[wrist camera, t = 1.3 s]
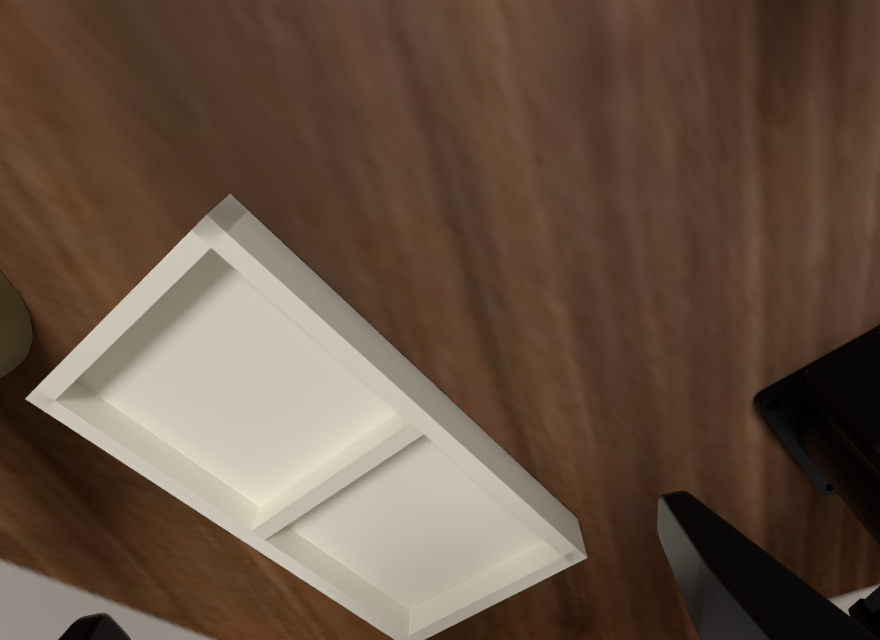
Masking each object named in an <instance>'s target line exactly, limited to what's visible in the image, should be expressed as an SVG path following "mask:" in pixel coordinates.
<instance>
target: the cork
mask: <svg viewBox="0 0 880 640" xmlns="http://www.w3.org/2000/svg"><path fill="white" fill-rule="evenodd" d="M32 341H33V335H32V326H31V317H30V315H29V313H28V311H27V309H26V307H25V304H24V302H23V300H22V298H21V296H20V294H19V293H18V291H17V290H16V289H15V288H14V287H13V285H12V284H11V283H10V282H9V281H8V279H7V278H6V277H5V276H4V275H3V274H2V272H1V271H0V378H2V377H3V376H5V375H6V374H8V373H10V372H11V371H13V370H14V369H15V368H16V367H17V366H18V365H19V364H20V363H21V362H22V361H24V360H25V359H26V358H27V355H28V352H29V349H30V346H31V344H32Z"/></svg>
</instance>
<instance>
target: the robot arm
mask: <svg viewBox="0 0 880 640" xmlns="http://www.w3.org/2000/svg"><path fill="white" fill-rule="evenodd" d="M772 400H774V401H773V402H771V403H769V402H770V401H772ZM755 404H756V406H757V407H758V409H759V410H760V411H761V413H762V414H763V415H764V417H765V418H766V419H767V421H768V422H769V424H770V425H771V426H772V428H773V429H774V430H775V432H776V433H777V434H778V436H779V437H780V438H781V440H782V441H783V443H784V444H785V445H786V447H787V448H788V449H789V451H790V452H791V453H792V455H793V456H794V457H795V459H796V460H797V462H798V463H799V464H800V466H801V467H802V468H803V470H804V471H805V472H806V474H807V475H808V476H809V478H810V479H811V481H812V482H813V483H814V485H815V486H816V487H817V489H818V490H819V491H820V492H821V493H822V494H824V495H833V494H836V493H837V494H838V495H839V496H840V497H841V499H842V500H843V501H844V502H845V504H846V505H847V506H848V507H849V509H850V510H851V511H852V512H853V514H854V515H855V516H856V518H857V519H858V520H859V521H860V523H861V524H862V525H863V526H864V528H865V529H866V530H867V531H868V533H869V534H870V535H871V536H872V538H873V539H874V540H875V541H876V543H877V544H878V545H879V546H880V326H878V327H876V328H874V329H873V330H871V331H869V332H867V333H865V334H864V335H862V336H860V337H858V338H856V339H855V340H853V341H851V342H849V343H847V344H845V345H844V346H842V347H840V348H838V349H836V350H835V351H833V352H831V353H829V354H827V355H826V356H824V357H822V358H820V359H818V360H816V361H815V362H813V363H811V364H809V365H807V366H806V367H804V368H802V369H800V370H798V371H797V372H795V373H793V374H791V375H789V376H787V377H786V378H784V379H782V380H780V381H778V382H777V383H775V384H773V385H771V386H769V387H768V388H766V389H764V390H762V391H761V392H760V393H758V395H757V396H756V397H755ZM657 527H658V534H659V538H660V541H661V544H662V546H663V549H664V551H665V554H666V556H667V559H668V561H669V564H670V566H671V569H672V571H673V574H674V576H675V579H676V581H677V584H678V586H679V589H680V591H681V594H682V596H683V599H684V601H685V604H686V606H687V609H688V611H689V614H690V616H691V619H692V622H693V624H694V626H695V629H696V631H697V634H698V636H699V638H700V640H880V586H879V587H878V588H877V589H876V590H875V591H874V592H872V593H871V594H870V595H869V596H868V597H867V598H866V599H859V600H858V601H857V602H856V603H855V604H853V605H852V606H851V607H850V608H849V609H848V610H849V614H850V616H848V615H847V614H846V613H845V612H843V611H842V610H841V609H839V608H838V607H837V606H836V605H834V604H833V603H832V602H830V601H829V600H828V599H826V598H825V597H824V596H823V595H821V594H820V593H819V592H817V591H816V590H815V589H813V588H812V587H811V586H810V585H808V584H807V583H806V582H804V581H803V580H802V579H800V578H799V577H798V576H797V575H795V574H794V573H793V572H791V571H790V570H789V569H787V568H786V567H785V566H784V565H782V564H781V563H780V562H778V561H777V560H776V559H774V558H773V557H772V556H771V555H769V554H768V553H767V552H765V551H764V550H763V549H761V548H760V547H759V546H758V545H756V544H755V543H754V542H752V541H751V540H750V539H749V538H747V537H746V536H745V535H743V534H742V533H741V532H739V531H738V530H737V529H736V528H734V527H733V526H732V525H730V524H729V523H728V522H726V521H725V520H724V519H723V518H721V517H720V516H719V515H717V514H716V513H715V512H713V511H712V510H711V509H710V508H708V507H707V506H706V505H704V504H703V503H702V502H700V501H699V500H698V499H697V498H695V497H694V496H693V495H691V494H690V493H688V492H686V491H677V492H672V493H668V494H663V495H661V496H660V498H659V503H658V525H657ZM58 640H131V639H130V637H129V636H128V634H127V633H126V632H125V631H124V630H123V629H122V628H121V627H120V626H119V625H118V624H117V622H116V621H114V619H113V618H112V617H111V616H110V615H109V614H106V613H98V614H94V615H89V616H84V617H82V618H79V619H78V620H76V621H75V622H74V623H73V624H72V625H71V626H70V627H69V628H68V629H67V630H66V631H65V633H64V634H63V635H62V636H61V637H60V638H59V639H58Z"/></svg>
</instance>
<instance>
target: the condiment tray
mask: <svg viewBox="0 0 880 640" xmlns="http://www.w3.org/2000/svg"><path fill="white" fill-rule="evenodd" d="M25 399H26V400H28V401H29V402H31V403H32V404H34V405H35V406H37V407H38V408H40V409H41V410H43V411H44V412H46V413H48V414H49V415H51V416H52V417H54V418H55V419H57V420H58V421H60V422H61V423H63V424H64V425H66V426H67V427H69V428H71V429H72V430H74V431H75V432H77V433H78V434H80V435H81V436H83V437H84V438H86V439H87V440H89V441H90V442H92V443H94V444H95V445H97V446H98V447H100V448H101V449H103V450H104V451H106V452H107V453H109V454H110V455H112V456H114V457H115V458H117V459H118V460H120V461H121V462H123V463H124V464H126V465H127V466H129V467H130V468H132V469H133V470H135V471H137V472H138V473H140V474H141V475H143V476H144V477H146V478H147V479H149V480H150V481H152V482H153V483H155V484H156V485H158V486H160V487H161V488H163V489H164V490H166V491H167V492H169V493H170V494H172V495H173V496H175V497H176V498H178V499H179V500H181V501H183V502H184V503H186V504H187V505H189V506H190V507H192V508H193V509H195V510H196V511H198V512H199V513H201V514H203V515H204V516H206V517H207V518H209V519H210V520H212V521H213V522H215V523H216V524H218V525H219V526H221V527H222V528H224V529H226V530H227V531H229V532H230V533H232V534H233V535H235V536H236V537H238V538H239V539H241V540H242V541H244V542H245V543H247V544H249V545H250V546H252V547H253V548H255V549H256V550H258V551H259V552H261V553H262V554H264V555H265V556H267V557H269V558H270V559H272V560H273V561H275V562H276V563H278V564H279V565H281V566H282V567H284V568H285V569H287V570H288V571H290V572H292V573H293V574H295V575H296V576H298V577H299V578H301V579H302V580H304V581H305V582H307V583H308V584H310V585H311V586H313V587H315V588H316V589H318V590H319V591H321V592H322V593H324V594H325V595H327V596H328V597H330V598H331V599H333V600H335V601H336V602H338V603H339V604H341V605H342V606H344V607H345V608H347V609H348V610H350V611H351V612H353V613H354V614H356V615H358V616H359V617H361V618H362V619H364V620H365V621H367V622H368V623H370V624H371V625H373V626H374V627H376V628H377V629H379V630H381V631H382V632H384V633H385V634H387V635H388V636H390V637H391V638H393V639H394V640H425V639H427V638H429V637H431V636H433V635H435V634H437V633H439V632H441V631H443V630H445V629H447V628H449V627H451V626H453V625H455V624H457V623H459V622H461V621H463V620H464V619H466V618H468V617H470V616H472V615H474V614H476V613H478V612H480V611H482V610H484V609H486V608H488V607H490V606H492V605H494V604H496V603H498V602H500V601H502V600H504V599H506V598H508V597H510V596H512V595H514V594H516V593H518V592H520V591H522V590H524V589H526V588H528V587H530V586H532V585H534V584H536V583H538V582H540V581H542V580H544V579H546V578H548V577H550V576H552V575H554V574H556V573H558V572H560V571H562V570H564V569H566V568H568V567H570V566H572V565H574V564H576V563H578V562H580V561H582V560H584V559H586V558H587V555H586V551H585V547H584V543H583V539H582V535H581V531H580V527H579V523H578V519H577V518H576V517H575V516H574V515H573V514H572V513H571V512H570V511H569V510H568V509H567V508H565V507H564V506H563V505H562V504H561V503H560V502H559V501H558V500H557V499H556V498H555V497H554V496H553V495H552V494H551V493H549V492H548V491H547V490H546V489H545V488H544V487H543V486H542V485H541V484H540V483H539V482H538V481H537V480H536V479H535V478H533V477H532V476H531V475H530V474H529V473H528V472H527V471H526V470H525V469H524V468H523V467H522V466H521V465H520V464H518V463H517V462H516V461H515V460H514V459H513V458H512V457H511V456H510V455H509V454H508V453H507V452H506V451H505V450H504V449H502V448H501V447H500V446H499V445H498V444H497V443H496V442H495V441H494V440H493V439H492V438H491V437H490V436H489V435H488V434H486V433H485V432H484V431H483V430H482V429H481V428H480V427H479V426H478V425H477V424H476V423H475V422H474V421H473V420H471V419H470V418H469V417H468V416H467V415H466V414H465V413H464V412H463V411H462V410H461V409H460V408H459V407H458V406H457V405H455V404H454V403H453V402H452V401H451V400H450V399H449V398H448V397H447V396H446V395H445V394H444V393H443V392H442V391H440V390H439V389H438V388H437V387H436V386H435V385H434V384H433V383H432V382H431V381H430V380H429V379H428V378H427V377H426V376H424V375H423V374H422V373H421V372H420V371H419V370H418V369H417V368H416V367H415V366H414V365H413V364H412V363H411V362H410V361H408V360H407V359H406V358H405V357H404V356H403V355H402V354H401V353H400V352H399V351H398V350H397V349H396V348H395V347H393V346H392V345H391V344H390V343H389V342H388V341H387V340H386V339H385V338H384V337H383V336H382V335H381V334H380V333H379V332H377V331H376V330H375V329H374V328H373V327H372V326H371V325H370V324H369V323H368V322H367V321H366V320H365V319H364V318H363V317H361V316H360V315H359V314H358V313H357V312H356V311H355V310H354V309H353V308H352V307H351V306H350V305H349V304H348V303H346V302H345V301H344V300H343V299H342V298H341V297H340V296H339V295H338V294H337V293H336V292H335V291H334V290H333V289H332V288H330V287H329V286H328V285H327V284H326V283H325V282H324V281H323V280H322V279H321V278H320V277H319V276H318V275H317V274H316V273H314V272H313V271H312V270H311V269H310V268H309V267H308V266H307V265H306V264H305V263H304V262H303V261H302V260H301V259H299V258H298V257H297V256H296V255H295V254H294V253H293V252H292V251H291V250H290V249H289V248H288V247H287V246H286V245H285V244H283V243H282V242H281V241H280V240H279V239H278V238H277V237H276V236H275V235H274V234H273V233H272V232H271V231H270V230H268V229H267V228H266V227H265V226H264V225H263V224H262V223H261V222H260V221H259V220H258V219H257V218H256V217H255V216H254V215H252V214H251V213H250V212H249V211H248V210H247V209H246V208H245V207H244V206H243V205H242V204H241V203H240V202H239V201H238V200H236V199H235V198H234V197H233V196H232V195H231V194H229V195H228V196H227V197H226V198H225V199H224V200H223V201H221V202H220V203H219V204H218V205H217V206H216V207H215V208H214V209H213V210H212V211H210V212H209V213H208V214H207V215H206V216H205V217H204V218H203V219H202V220H201V221H200V222H199V223H198V224H197V225H196V226H195V227H194V228H193V229H192V230H191V231H190V232H189V233H188V234H187V235H186V236H185V237H184V238H183V239H182V240H181V241H180V242H179V243H178V244H177V245H176V246H175V247H174V248H173V249H172V250H171V252H170V253H169V254H168V255H167V256H166V257H165V258H164V259H163V260H162V261H161V262H160V263H159V264H158V265H157V266H156V267H155V268H154V269H153V270H152V271H151V272H150V273H149V274H148V275H147V276H146V277H145V278H144V279H143V280H142V281H141V282H140V283H139V284H138V285H137V286H136V287H135V288H134V289H133V290H132V291H131V292H130V293H129V294H128V295H127V296H126V297H125V298H124V299H123V300H122V301H121V302H120V303H119V304H118V305H117V306H116V307H115V308H114V309H113V310H112V311H111V312H110V313H109V314H108V315H107V316H106V317H105V318H104V319H103V320H102V321H101V322H100V323H99V324H98V325H97V326H96V327H95V328H94V329H93V331H92V332H91V333H90V334H89V335H88V336H87V337H86V338H85V339H84V340H83V341H82V342H81V343H80V344H79V345H78V346H77V347H76V348H75V349H74V350H73V351H72V352H71V353H70V354H69V355H68V356H67V357H66V358H65V359H64V360H63V361H62V362H61V363H60V364H59V365H58V366H57V367H56V368H55V369H54V370H53V371H52V372H51V373H50V374H49V375H48V376H47V377H46V378H45V379H44V380H43V381H42V382H41V383H40V384H39V385H38V386H37V387H36V388H35V389H34V390H33V391H32V392H31V393H30V394H29V395H28V396H27V397H26V398H25Z"/></svg>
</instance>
